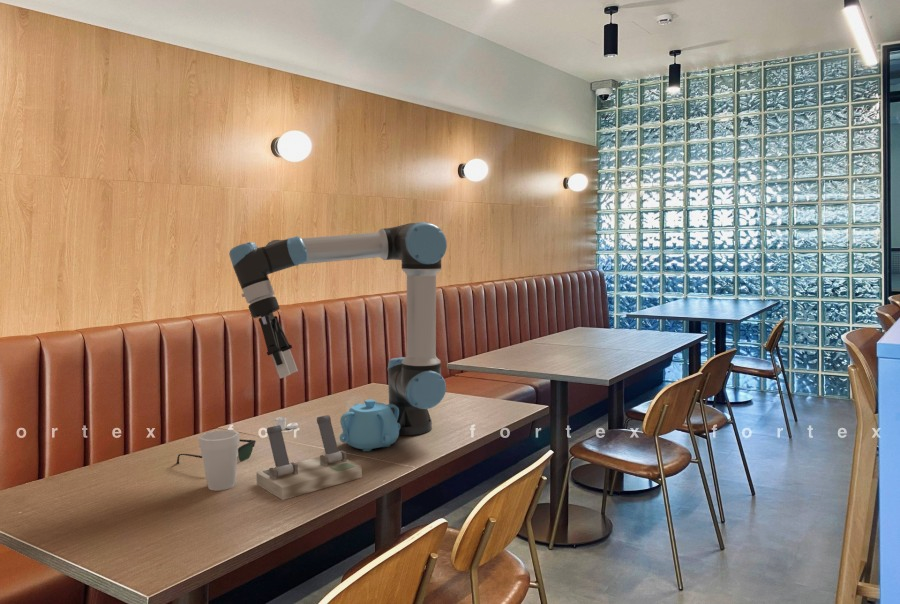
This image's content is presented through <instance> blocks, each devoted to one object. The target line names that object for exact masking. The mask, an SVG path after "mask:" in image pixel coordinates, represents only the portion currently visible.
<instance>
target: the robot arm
mask: <svg viewBox="0 0 900 604" xmlns="http://www.w3.org/2000/svg"><path fill="white" fill-rule="evenodd" d="M447 245H448V244H447V238H446V235H445V233H444V231H442V230H441V228H440V227H439V226H437V225H436V224H433V223H430V222H424V221H422V222H409V223H405V224H401V225H397V226H393V227H384V228H380V229H379V230H378V231H377V232H366V233H364V232H363V233H354V234H353V233H352V234H341V235H340V234H339V235H327V236H316V237H304V238H301V236H297V235H296V236H293V237H289V238H285V239H273V240H271V241H269V242H268V243H267V244H266V245H265V246H259V247H258V245H257V244H256V243H255V242H254V241H250V242H245V243H240V244H239V245H236V246H234V247H232V248H231V249H230V250H229V252H228V254H229V258H230V261H231V264H232V268H233V270H234V272H235V275H236V278H237V280H238V283H239V286H240V288H241V290H242V293H241V297H242V298H244V299H245V301H246V303H247V304H249V305H248V310H249V313H250V314H251V317H252V318H253V319H257V318H258V322H259V324H260V327H261V331H262V335H263V337H264V342H265V346H266V349H267V351H266V355H267V356H270V357H271V359H272V361H273V363H274V366H275V369H276V373H277V374H278V377H279V379H283V378H285V377H288V376H290V375H291V374H294V373H296V372H299V370H298V367H297V364H296V362H295V358H294V357H293V353H292V351H291V349H293V346H292V344H290V342H289V340H288V339H287V336H286V334H285V332H284V330H283V328H282V325H281V324H280V322H279V318H278V316H277V315H274V314H273V313H275V312H277V311H278V310H280V305H279V302H278V299H277V297H276V296H274V294H275V291H274V289H273V286H272V283H271V280H270V278H269V276H268V275H271V274H274V273H277V272H280V271H283V270H286V269H290V268H292V267H295V266H296V267H297V266H299V265H307V264H308V265H309V264H319V263H330V262H340V261H351V260H365V259H375V258H380V259H381V260H383V261H389V260H393V261H395V260H397V261H401V270H402V271H403V272H404V273H405V275H406V356H402V357H394V358H390V359H389V360H388V363H387V380H388V383H387V385H388V404H394V405H396V406H397V407H398V409H399V416H398V420H397V423H399V424H400V426H401V428H400V430H399V436H416V435H422V434H425V433H428V432H430V431H431V430H432V429H433V426H432V425H433V422H432V418H431V415H430V413H429V410H430V409H431V408H434V407H436V406H438V405H439V403H441V402H442V400H443V399H444V398H445V395H446V392H447V384H446V380H445V378H444V377H443V375H442V362H441V361H442V360H441V359H439V358H438V357H437V354H436V353H437V351H436V349H437V341H436V339H437V274H438V273H440V271H441V270H442V259H443V257H445V254H446V252H447V247H448V246H447ZM428 409H429V410H428ZM391 410H392V412H393V414H394V413H395V409H394V408H393V407H391Z"/></svg>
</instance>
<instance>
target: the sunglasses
mask: <svg viewBox="0 0 900 604" xmlns="http://www.w3.org/2000/svg"><path fill="white" fill-rule="evenodd" d="M240 442H241V443H245V444H243V445H240V446H238V456H237V459H238V460H239V461H240V462H243V461H246V460H248V459H250V457H251V455H252V452H253V449H254V447H255V444H256V440H255V439H254V440H253V439H241V438H239V443H240ZM180 456H189V457H194V458H198V459H202V455H198V454H197V455H196V454H190V453H178V455H177V459H176V464H178V465H179V464H180Z"/></svg>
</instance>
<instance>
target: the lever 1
mask: <svg viewBox="0 0 900 604" xmlns="http://www.w3.org/2000/svg"><path fill="white" fill-rule="evenodd" d="M282 432H283V430H282V428H281V426H280V425H278V426H277V425H274V426H270V427H267V428H266V433H267V436H268V440H269V443H270V444H269V445H270V449H271V452H272V457H273V461H274V467H273V468H274V469H276V470H277V477H278V476H282V475H286V474H290V473H293V465H292V464H291V463H292V462H290V460H289V456H288V452H287V448H286V444H285V440H284V437H283V433H282Z"/></svg>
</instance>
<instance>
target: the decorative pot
mask: <svg viewBox="0 0 900 604" xmlns="http://www.w3.org/2000/svg"><path fill="white" fill-rule="evenodd" d="M376 401H377V400H376V399H371V398H369V399H365V400H364V403H359V402H358V403H355V404H354V405H352V406H351V407H350V408H349V410H348V411H347V412H344V413H343V414H342V415H341V417H340V420H339V422H340V426H341V429H342V433H341V434H340V436H339V440H340V442H341V443H346V444H347V445H348V446H350V447H353V448H355V449H357V450H358V449H360V450H362V451H363V452H365V451H368V452H371V451H372V450H373V449H378V448H389V447H391V445H392V444H394V443H396V441H397V439H398V438H399V436H400V435H399V430H400V428H401V426H400V424H399V423H397V420H398V416H399V409H398V407H397V406H396V405H394V404H389V403H388V404H385V403H382V402H378V401H377V402H376ZM391 407H393V408H394V409H395V413H394V414H393V412H392V410H391Z"/></svg>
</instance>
